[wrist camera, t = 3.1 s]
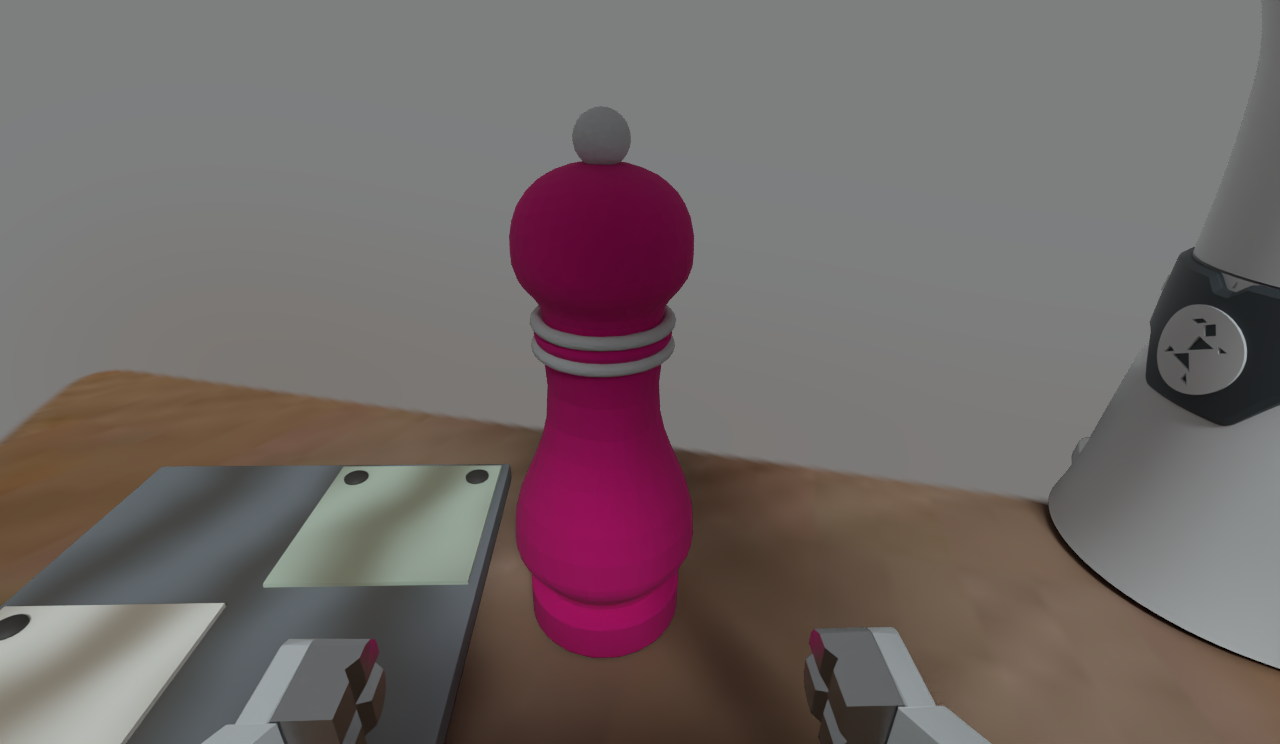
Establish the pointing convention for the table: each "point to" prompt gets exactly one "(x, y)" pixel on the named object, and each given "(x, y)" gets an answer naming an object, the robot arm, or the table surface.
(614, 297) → the pepper mill
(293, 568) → the tile board
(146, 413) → the table surface
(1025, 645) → the table surface
